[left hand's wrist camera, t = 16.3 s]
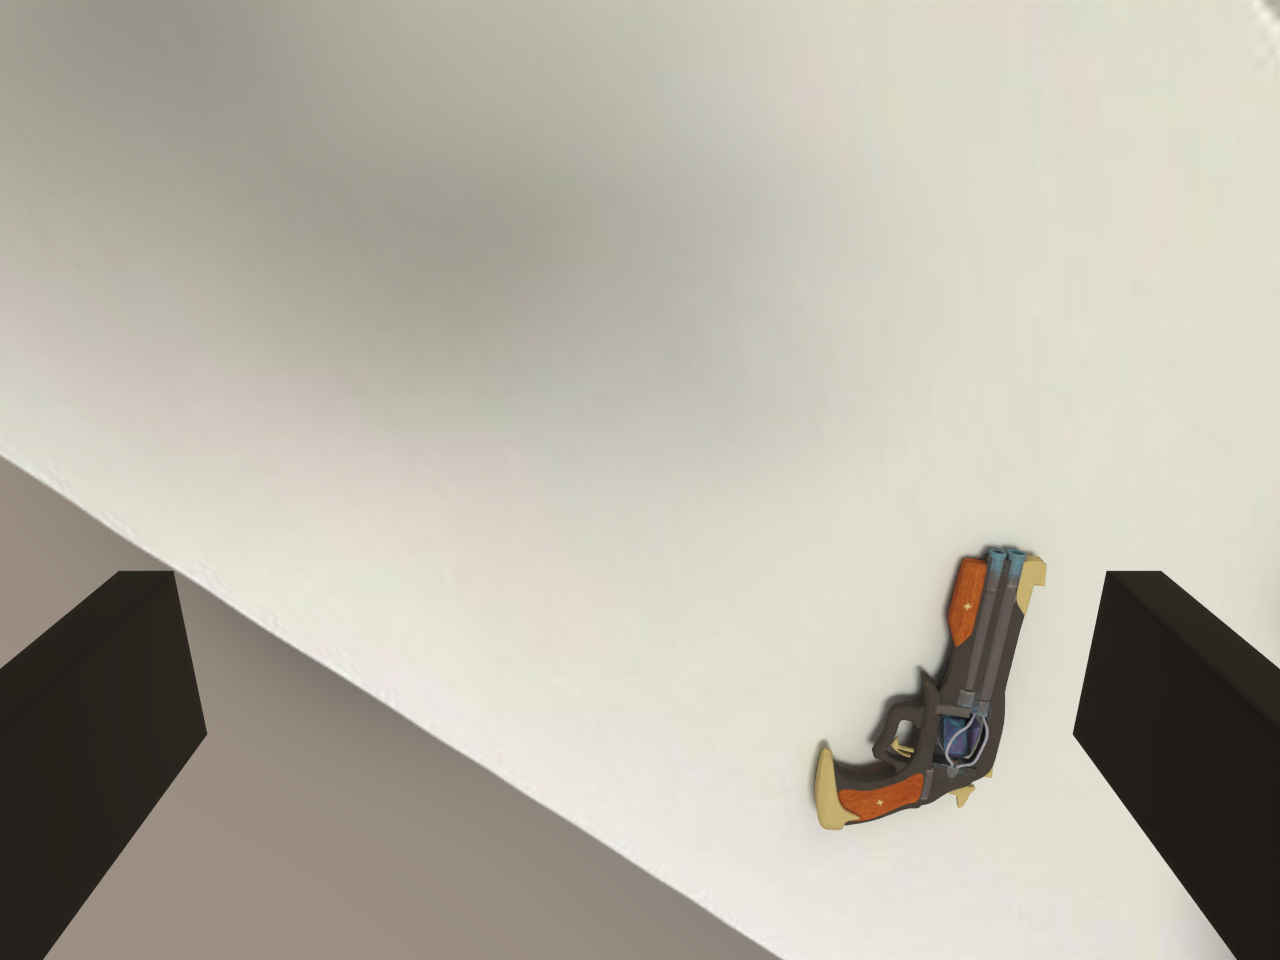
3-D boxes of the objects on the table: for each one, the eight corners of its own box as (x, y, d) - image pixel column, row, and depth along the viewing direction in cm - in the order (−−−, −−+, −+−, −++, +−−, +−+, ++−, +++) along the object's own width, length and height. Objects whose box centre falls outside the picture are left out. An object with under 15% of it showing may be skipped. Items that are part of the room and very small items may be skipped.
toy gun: (810, 838, 53) (981, 865, 52) (866, 540, 48) (1058, 565, 47) (807, 809, 56) (969, 834, 55) (859, 523, 50) (1041, 547, 49)
